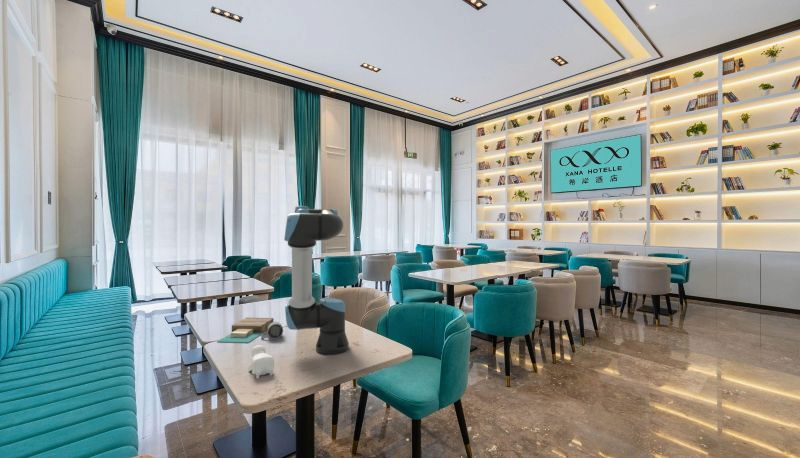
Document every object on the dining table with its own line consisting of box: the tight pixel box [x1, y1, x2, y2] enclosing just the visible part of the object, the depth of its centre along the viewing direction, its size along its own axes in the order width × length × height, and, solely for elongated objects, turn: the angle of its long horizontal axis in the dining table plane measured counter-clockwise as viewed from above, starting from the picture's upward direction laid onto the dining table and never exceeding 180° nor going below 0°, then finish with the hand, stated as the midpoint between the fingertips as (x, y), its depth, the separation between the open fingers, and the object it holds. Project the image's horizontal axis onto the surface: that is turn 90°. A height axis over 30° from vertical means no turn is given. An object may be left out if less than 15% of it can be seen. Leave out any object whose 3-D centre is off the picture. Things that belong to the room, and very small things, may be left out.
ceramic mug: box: [260, 321, 284, 340], centre depth 180 cm, size 11×8×8 cm
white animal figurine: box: [247, 345, 275, 379], centre depth 138 cm, size 9×8×15 cm
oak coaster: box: [230, 329, 253, 337], centre depth 182 cm, size 8×8×2 cm
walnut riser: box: [231, 317, 275, 334], centre depth 194 cm, size 16×16×4 cm
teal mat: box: [216, 332, 263, 344], centre depth 179 cm, size 15×16×1 cm
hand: (302, 276), depth 194 cm, fingers closed
